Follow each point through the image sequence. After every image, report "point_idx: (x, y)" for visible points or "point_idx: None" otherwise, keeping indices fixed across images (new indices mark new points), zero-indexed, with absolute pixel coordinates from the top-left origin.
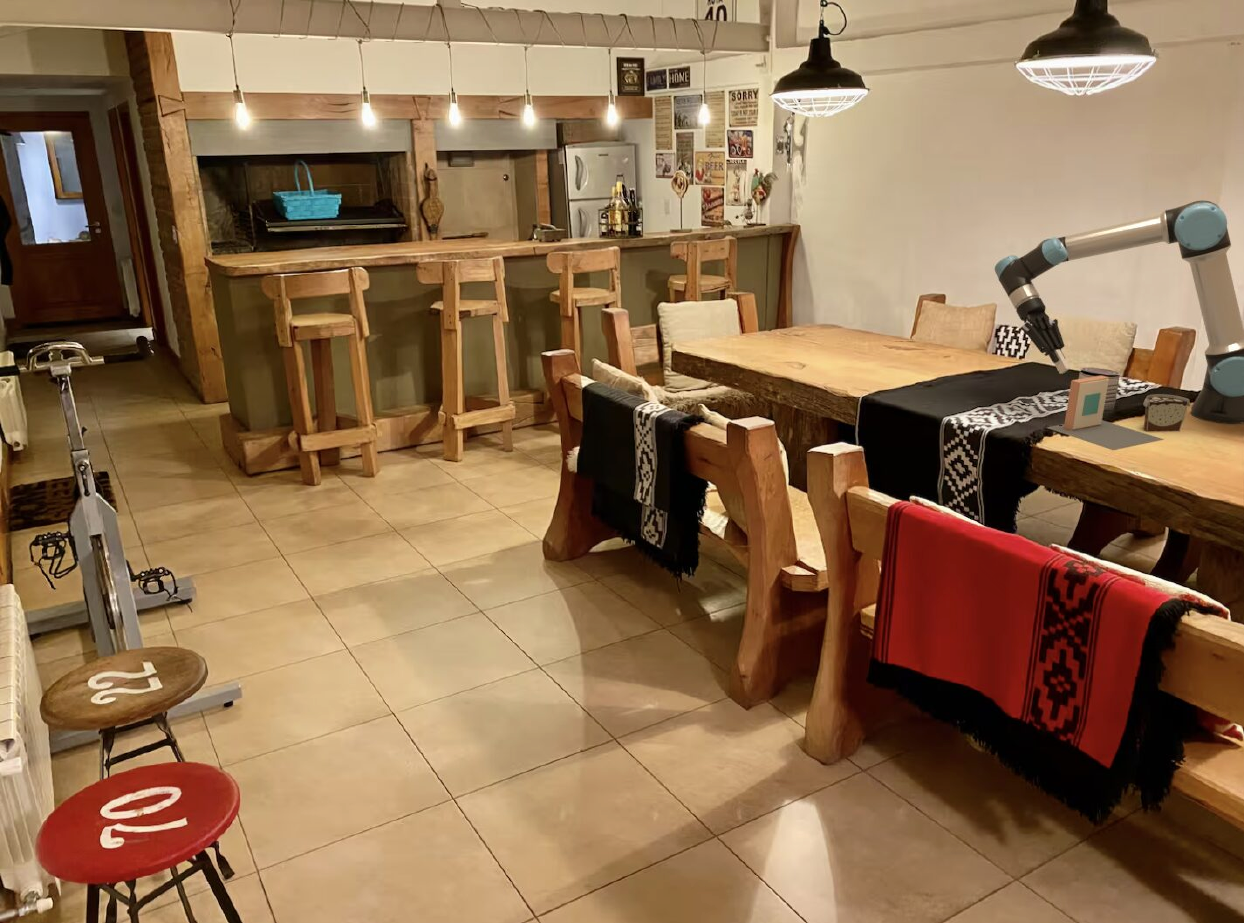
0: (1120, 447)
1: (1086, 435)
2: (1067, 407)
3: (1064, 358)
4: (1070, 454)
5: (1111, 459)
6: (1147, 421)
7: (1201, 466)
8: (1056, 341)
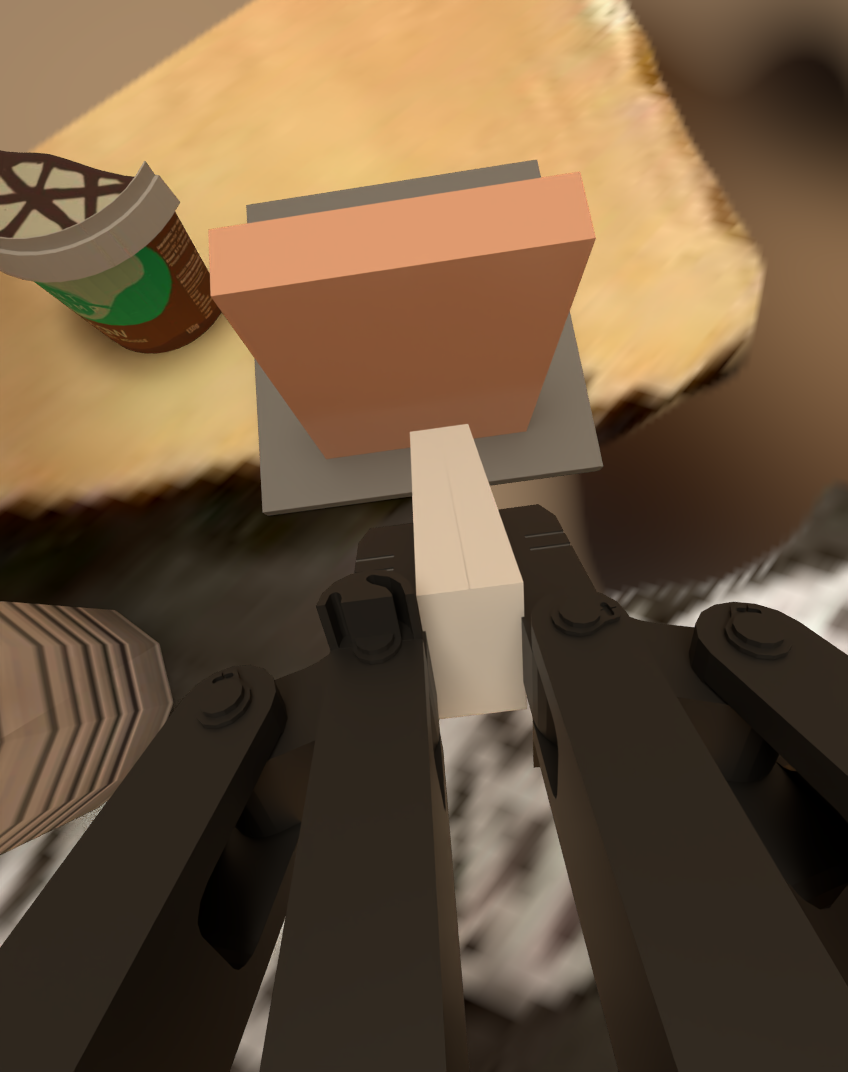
0: (486, 175)
1: None
2: (545, 374)
3: (418, 489)
4: (708, 197)
5: (592, 123)
6: (202, 261)
7: (354, 16)
8: (352, 810)
